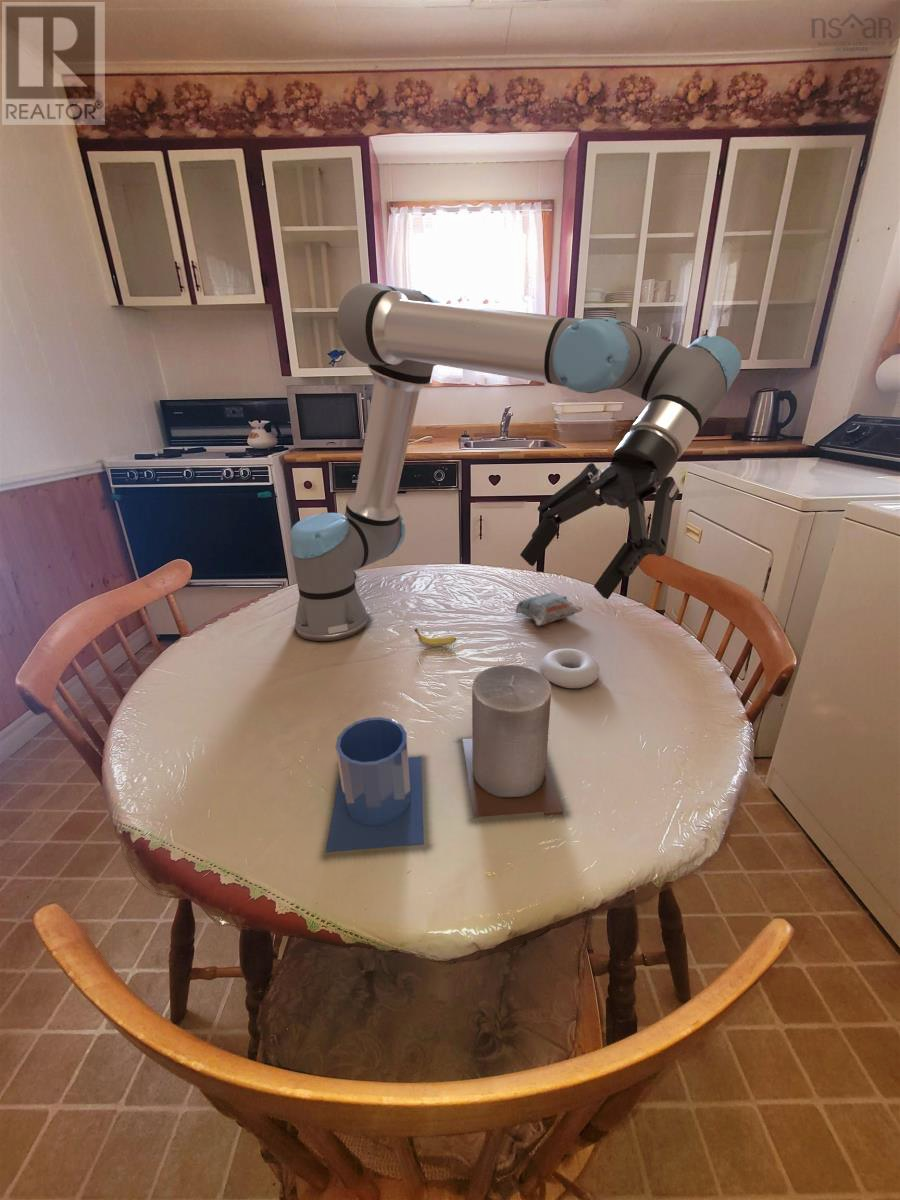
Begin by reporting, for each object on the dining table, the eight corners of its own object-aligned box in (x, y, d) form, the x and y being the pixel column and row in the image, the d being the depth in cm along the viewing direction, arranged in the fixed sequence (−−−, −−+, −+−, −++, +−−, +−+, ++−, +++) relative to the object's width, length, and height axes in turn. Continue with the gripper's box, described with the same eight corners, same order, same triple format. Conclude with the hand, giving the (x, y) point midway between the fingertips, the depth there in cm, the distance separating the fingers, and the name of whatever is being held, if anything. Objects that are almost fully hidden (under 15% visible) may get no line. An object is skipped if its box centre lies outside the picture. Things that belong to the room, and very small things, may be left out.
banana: (414, 648, 95) (413, 630, 94) (415, 644, 97) (414, 626, 95) (456, 648, 95) (455, 630, 93) (456, 644, 97) (456, 626, 95)
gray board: (462, 741, 71) (461, 738, 70) (536, 736, 71) (536, 733, 71) (473, 820, 58) (473, 817, 58) (563, 813, 59) (563, 810, 58)
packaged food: (581, 619, 105) (583, 599, 103) (537, 633, 100) (538, 611, 98) (555, 605, 112) (556, 585, 110) (513, 617, 107) (513, 597, 105)
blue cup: (349, 777, 64) (340, 719, 60) (411, 772, 65) (406, 715, 61) (341, 829, 57) (331, 767, 53) (411, 823, 57) (406, 761, 53)
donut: (539, 690, 82) (600, 694, 80) (540, 672, 81) (602, 677, 79) (541, 659, 91) (596, 662, 89) (542, 643, 89) (598, 646, 87)
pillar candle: (502, 736, 71) (504, 647, 64) (560, 769, 64) (568, 675, 58) (456, 773, 64) (454, 678, 58) (515, 813, 58) (520, 712, 52)
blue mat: (342, 764, 67) (341, 762, 67) (421, 759, 68) (421, 756, 67) (326, 855, 54) (325, 852, 54) (424, 846, 55) (423, 843, 55)
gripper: (754, 478, 57) (652, 625, 56) (593, 454, 76) (515, 563, 75) (739, 434, 52) (627, 593, 51) (571, 420, 71) (487, 536, 70)
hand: (560, 575), depth 63 cm, fingers open, 13 cm apart
